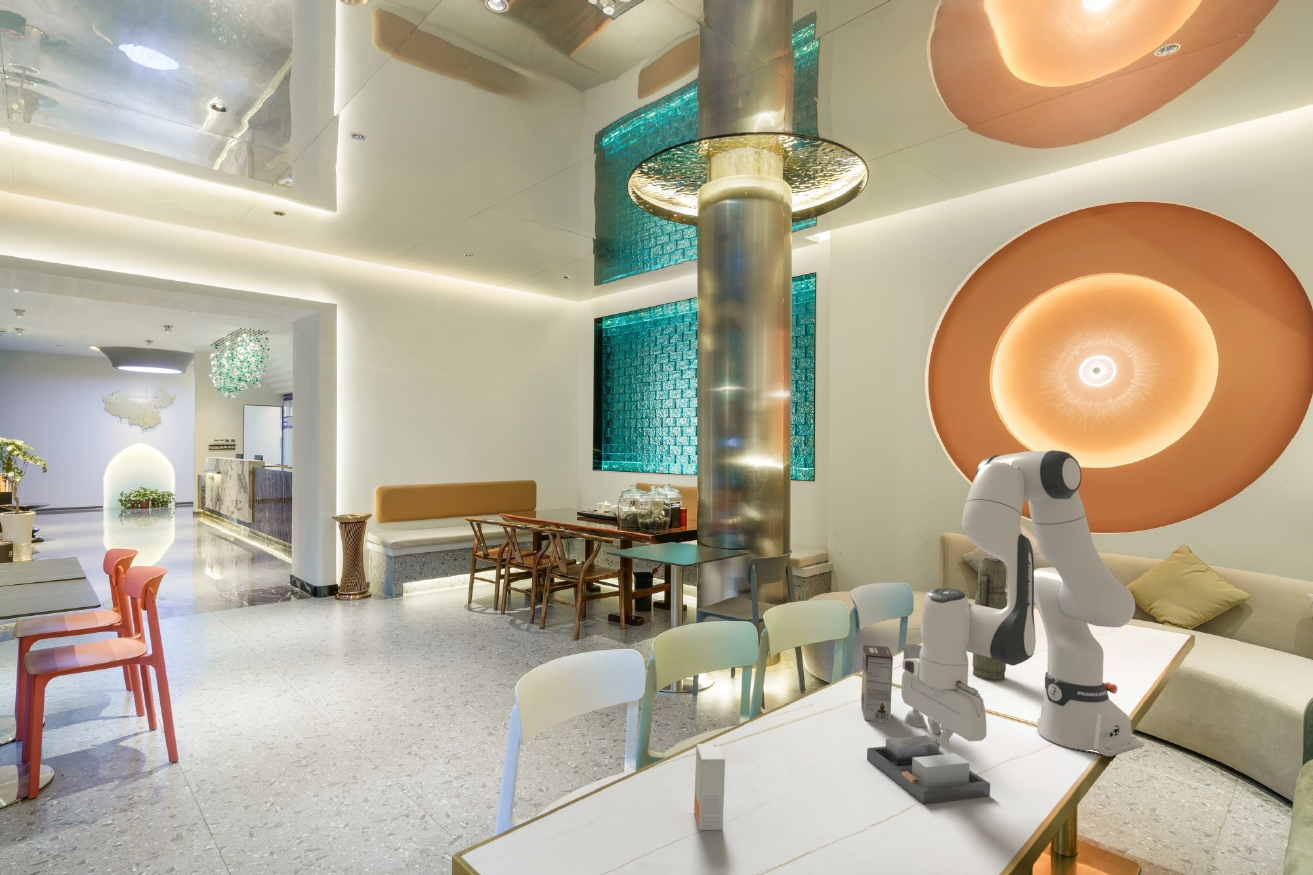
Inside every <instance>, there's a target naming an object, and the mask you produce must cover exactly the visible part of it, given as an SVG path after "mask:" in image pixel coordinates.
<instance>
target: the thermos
mask: <svg viewBox="0 0 1313 875" xmlns="http://www.w3.org/2000/svg"><path fill="white" fill-rule="evenodd" d="M977 569H978V570H977V572H978V574H977V584H978V586H977V587H978V588H977V592H976V594H975V597H974V604H976V605H981V606H986V607H990V608H995V609H1004V608H1005V607H1006V606H1007V596H1006V593H1007V592H1006V587H1007V567H1006V564H1005V563H1004V562H1003V561H1001V560H1000V559H998V558H991V557H990V558H989V557H988V558H987V557H986V558H982V559H981V560H980V563H979V565H978V568H977ZM1006 668H1007V664H1006V663H1003V662H1000V661H998V660H995V659H993V658H990V657H986V656H983V655H979V654H975V653H972V670H973V671H972V675H973V676H974V677H976V678H978V679H980V680H984V681H989V682H1004V681H1005V678H1006V676H1005V675H1006V671H1007V670H1006Z"/></svg>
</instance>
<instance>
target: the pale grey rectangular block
mask: <svg viewBox="0 0 1313 875" xmlns="http://www.w3.org/2000/svg"><path fill="white" fill-rule="evenodd" d="M969 770H970V761H968V760H966V759H965V758H963V757H962V756H960V755H959V754H956V753H944V755H934V756H924V757H914V758H912V775H913V776H914V777H916V778H917V779H918V782H917V783H919V784H920V785H921V786H923V787H924V788H930V787H939V786H947V785H956V784H964V783H969Z"/></svg>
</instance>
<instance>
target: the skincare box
mask: <svg viewBox="0 0 1313 875" xmlns="http://www.w3.org/2000/svg"><path fill="white" fill-rule="evenodd" d="M695 754H696V755H695V774H694V775H695V778H694V800H693V801H694V802H693V803H694V804H693V805H694V806H693V811H694V815H695V818H696V819H695V820H696V822H697V823H696V824H697V826H698V830H699V831H722V830H723V828H724V827H723V826H724V806H725V805H724V801H725V800H724V798H725V778H726V777H725V774H726V773H725V771H726V770H725V768H726V759H725V756H724V752H723V750H722V748H721V745H720V744H719V743H697V744H696V751H695Z"/></svg>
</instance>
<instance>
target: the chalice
mask: <svg viewBox="0 0 1313 875" xmlns="http://www.w3.org/2000/svg"><path fill="white" fill-rule="evenodd" d="M901 647H902V648H901V649H902V650H903V660H904V659H911V658H919V655H920V650H921V647H922V644H916V643H915V644H914V643H906V644H902V645H901ZM903 722H904V723H905V724H906V725H909V726H912V727H915V728H916V727H917V728H923V727H926V726H927V724H926V721H925V718H924V714H922V713H921V712H919V711H917V710H916V709H914V708H912V709H911V710H910V711H908V712H907V713H906V716H905V718H904V720H903Z"/></svg>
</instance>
